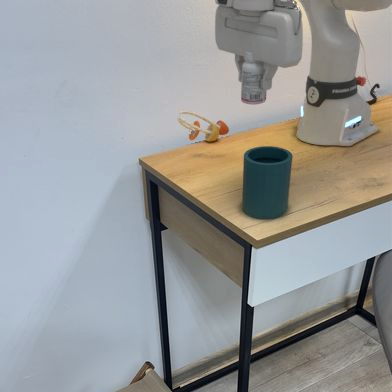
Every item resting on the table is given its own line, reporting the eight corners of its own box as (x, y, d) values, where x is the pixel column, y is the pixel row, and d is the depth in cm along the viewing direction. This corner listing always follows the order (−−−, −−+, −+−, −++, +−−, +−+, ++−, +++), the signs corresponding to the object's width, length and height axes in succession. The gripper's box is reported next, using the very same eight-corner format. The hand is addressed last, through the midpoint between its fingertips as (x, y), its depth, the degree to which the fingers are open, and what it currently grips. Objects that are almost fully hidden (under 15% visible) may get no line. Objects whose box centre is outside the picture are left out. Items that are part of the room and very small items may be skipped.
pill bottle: (250, 96, 96) (252, 46, 90) (270, 100, 94) (274, 49, 88) (235, 102, 93) (237, 51, 88) (256, 106, 91) (259, 54, 85)
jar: (266, 194, 106) (270, 142, 99) (296, 210, 100) (302, 156, 93) (233, 206, 102) (234, 153, 95) (261, 223, 97) (265, 168, 89)
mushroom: (169, 136, 127) (213, 162, 136) (189, 117, 121) (233, 145, 130) (169, 114, 130) (212, 141, 139) (188, 94, 124) (231, 123, 133)
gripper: (316, -1, 77) (305, 94, 87) (237, -13, 90) (234, 72, 99) (286, 3, 75) (278, 101, 84) (208, -9, 87) (209, 77, 97)
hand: (254, 85), depth 92 cm, fingers closed on pill bottle, 5 cm apart
